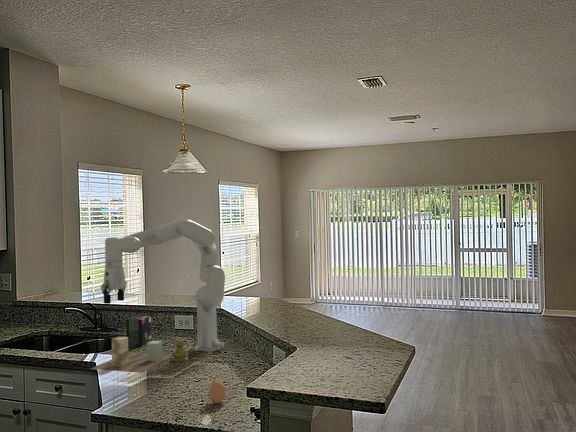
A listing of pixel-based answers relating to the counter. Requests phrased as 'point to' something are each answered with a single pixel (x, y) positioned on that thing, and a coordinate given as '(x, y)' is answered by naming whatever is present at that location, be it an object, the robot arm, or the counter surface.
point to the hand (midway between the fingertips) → (114, 301)
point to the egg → (217, 392)
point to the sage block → (154, 351)
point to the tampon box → (138, 331)
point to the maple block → (120, 352)
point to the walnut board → (133, 364)
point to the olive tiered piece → (180, 353)
